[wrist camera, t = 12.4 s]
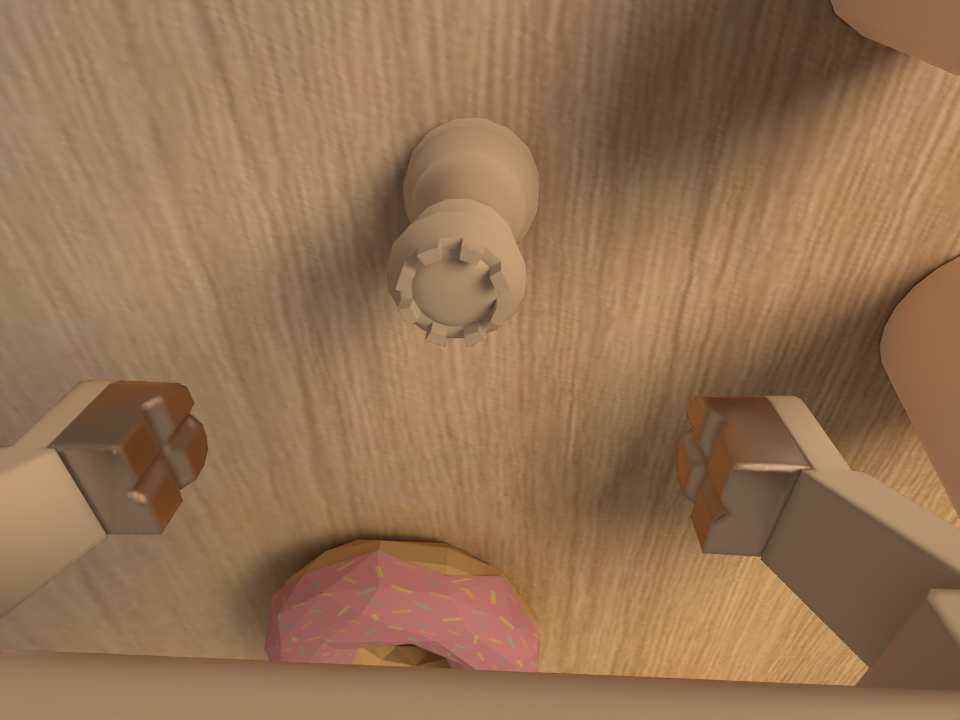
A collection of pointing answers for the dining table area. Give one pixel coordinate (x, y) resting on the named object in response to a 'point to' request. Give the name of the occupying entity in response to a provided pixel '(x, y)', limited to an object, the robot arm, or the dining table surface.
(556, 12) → the dining table surface
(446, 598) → the donut
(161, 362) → the dining table surface
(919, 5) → the shot glass
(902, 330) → the cup
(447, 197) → the rook chess piece
